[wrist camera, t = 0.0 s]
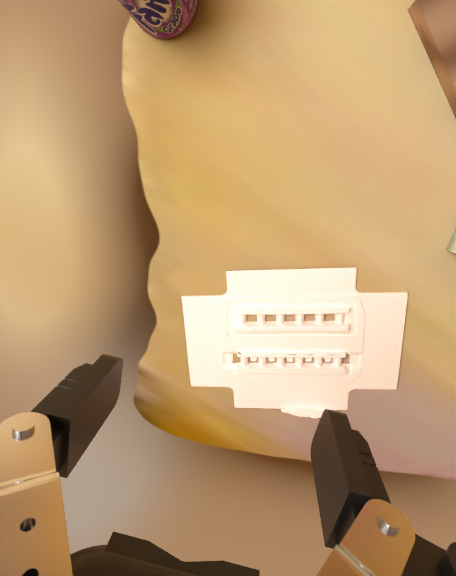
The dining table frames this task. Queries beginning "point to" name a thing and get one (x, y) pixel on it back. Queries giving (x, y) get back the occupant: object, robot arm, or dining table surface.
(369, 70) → the dining table surface
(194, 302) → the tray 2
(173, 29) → the beverage can
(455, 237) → the tray
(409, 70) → the dining table surface
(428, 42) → the stand
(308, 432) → the dining table surface
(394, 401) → the dining table surface
